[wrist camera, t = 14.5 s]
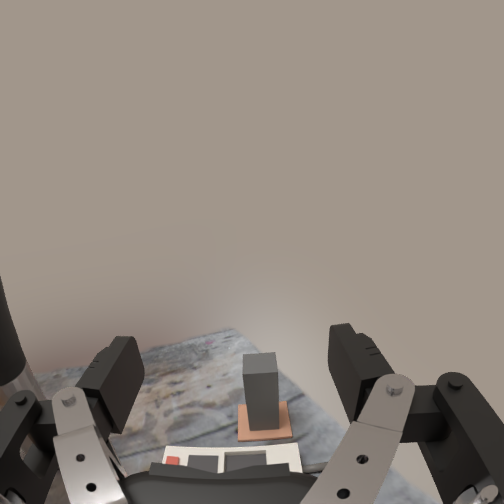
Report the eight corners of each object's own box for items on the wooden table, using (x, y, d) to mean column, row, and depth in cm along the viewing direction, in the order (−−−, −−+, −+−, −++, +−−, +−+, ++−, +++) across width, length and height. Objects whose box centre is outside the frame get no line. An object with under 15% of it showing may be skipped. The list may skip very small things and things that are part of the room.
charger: (249, 431, 39) (242, 374, 35) (249, 410, 43) (243, 354, 40) (279, 429, 38) (277, 371, 35) (277, 408, 43) (275, 351, 40)
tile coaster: (238, 441, 37) (237, 439, 37) (238, 406, 45) (238, 404, 45) (292, 437, 37) (292, 435, 37) (286, 403, 45) (286, 401, 45)
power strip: (164, 493, 27) (155, 482, 26) (171, 456, 34) (165, 443, 33) (333, 487, 27) (337, 475, 26) (324, 449, 34) (326, 435, 33)
